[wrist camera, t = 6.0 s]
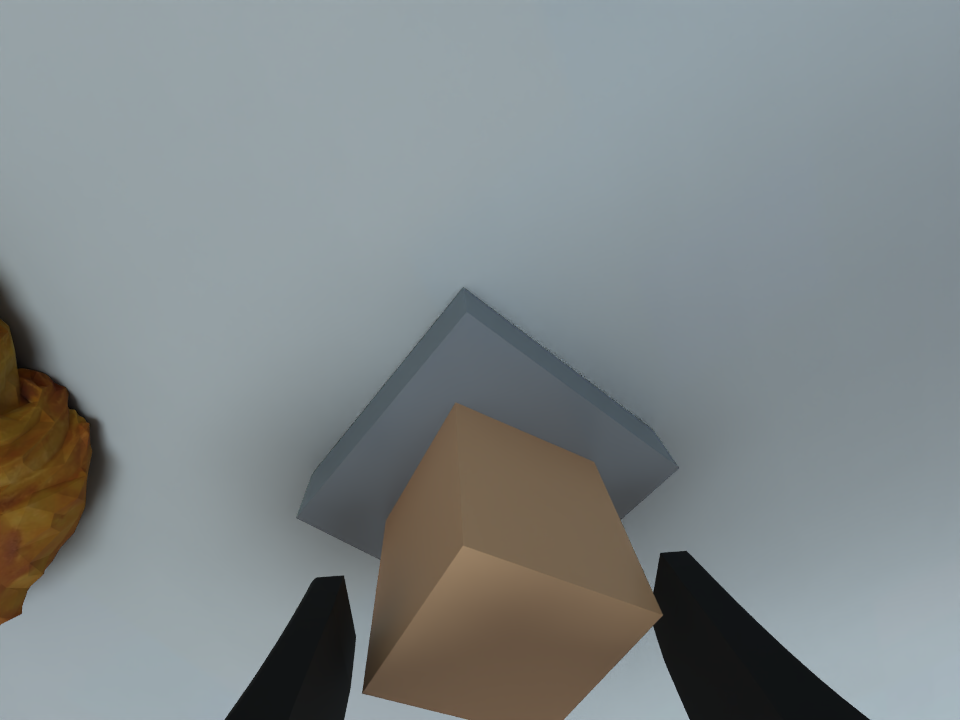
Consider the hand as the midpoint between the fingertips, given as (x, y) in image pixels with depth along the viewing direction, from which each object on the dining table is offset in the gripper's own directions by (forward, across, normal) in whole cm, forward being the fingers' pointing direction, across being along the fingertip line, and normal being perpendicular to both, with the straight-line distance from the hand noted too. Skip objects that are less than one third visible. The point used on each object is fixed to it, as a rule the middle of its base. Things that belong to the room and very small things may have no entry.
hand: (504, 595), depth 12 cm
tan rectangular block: (+4, 0, 0) cm, 4 cm away
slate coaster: (+6, 0, 0) cm, 6 cm away
